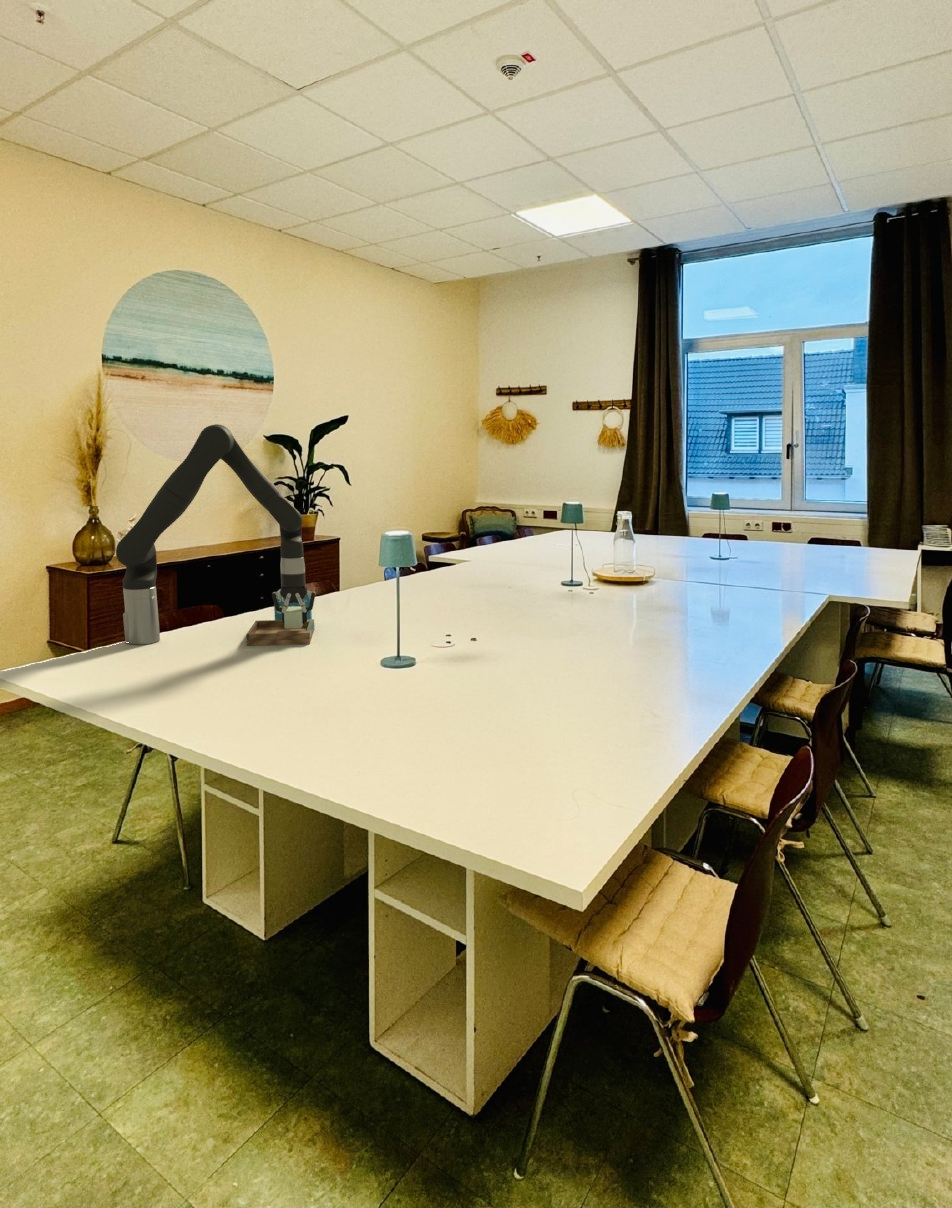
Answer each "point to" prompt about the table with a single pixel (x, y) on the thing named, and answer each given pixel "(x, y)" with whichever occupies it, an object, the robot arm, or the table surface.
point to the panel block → (293, 617)
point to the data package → (281, 601)
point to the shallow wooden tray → (279, 633)
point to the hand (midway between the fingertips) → (295, 623)
